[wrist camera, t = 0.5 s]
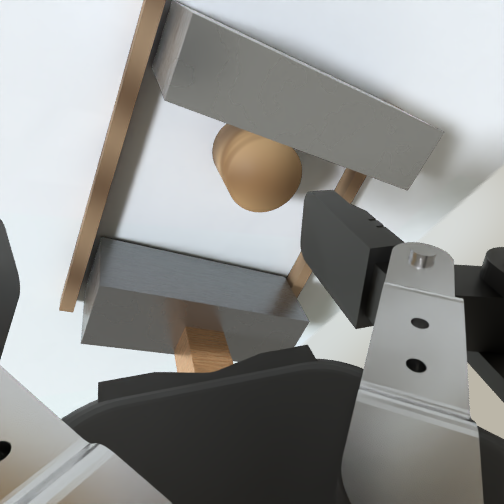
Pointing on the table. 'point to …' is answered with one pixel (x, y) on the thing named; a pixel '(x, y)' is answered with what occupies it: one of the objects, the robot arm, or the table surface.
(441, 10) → the table surface
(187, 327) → the press jaw
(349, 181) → the press frame
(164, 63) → the grey rectangular block
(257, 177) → the nut
